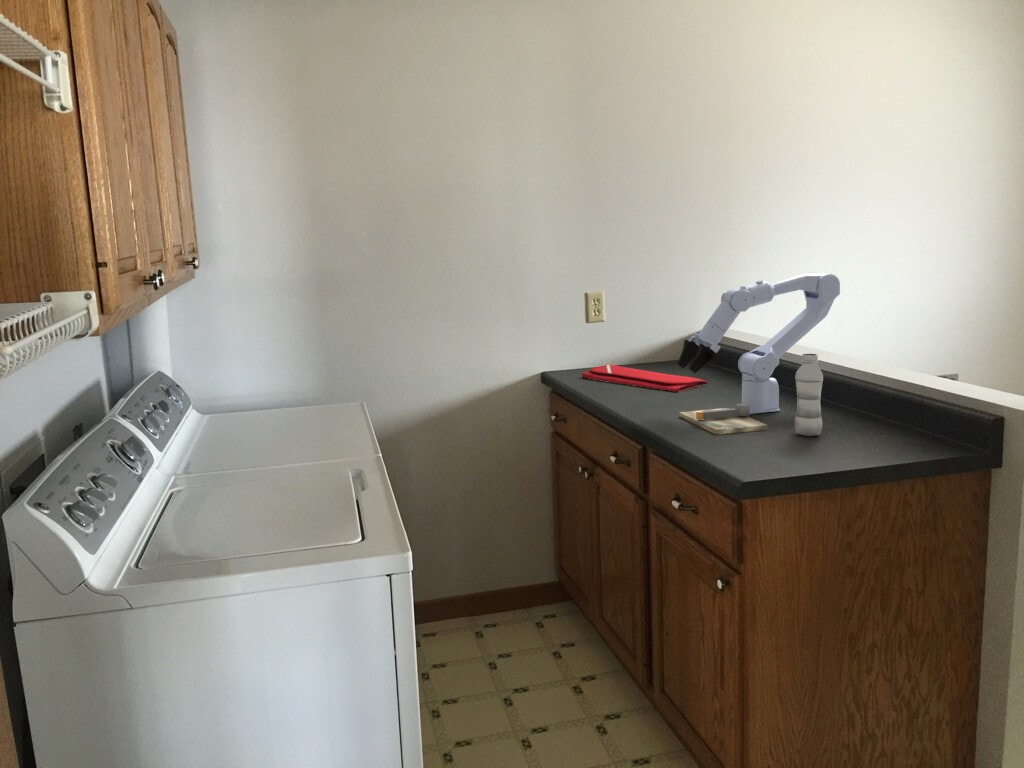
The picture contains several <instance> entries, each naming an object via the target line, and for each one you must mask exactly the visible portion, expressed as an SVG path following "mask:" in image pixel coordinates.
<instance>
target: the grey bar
mask: <svg viewBox="0 0 1024 768" xmlns="http://www.w3.org/2000/svg"><path fill="white" fill-rule="evenodd" d="M720 409H721V408H720ZM709 410H710V409H709ZM735 416H747V417H749V416H751V414H750V404H743V403H742V402H741V403H736V404H735V408H733V407H732V408H728V409H721V410H710V411H701V412H696V419H698V420H701V419H714V418H725V417H735Z"/></svg>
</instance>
